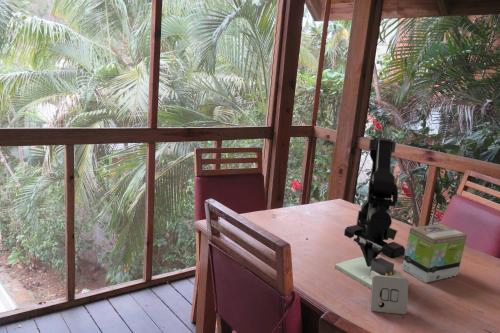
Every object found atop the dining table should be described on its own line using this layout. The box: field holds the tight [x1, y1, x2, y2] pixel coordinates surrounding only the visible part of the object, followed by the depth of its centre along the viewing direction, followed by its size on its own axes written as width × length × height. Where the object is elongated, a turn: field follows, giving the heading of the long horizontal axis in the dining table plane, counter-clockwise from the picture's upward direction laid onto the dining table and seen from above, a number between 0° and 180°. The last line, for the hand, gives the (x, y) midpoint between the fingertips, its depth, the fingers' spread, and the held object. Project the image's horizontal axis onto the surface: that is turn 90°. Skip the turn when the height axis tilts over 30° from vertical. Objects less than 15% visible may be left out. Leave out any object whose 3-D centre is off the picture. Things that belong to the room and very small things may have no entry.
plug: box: [370, 256, 395, 276], centre depth 121 cm, size 4×5×5 cm
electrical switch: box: [369, 275, 410, 315], centre depth 106 cm, size 9×5×9 cm, turn 86°
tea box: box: [401, 223, 468, 284], centre depth 128 cm, size 15×10×15 cm, turn 117°
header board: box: [334, 256, 404, 290], centre depth 124 cm, size 17×13×4 cm
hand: (368, 266), depth 124 cm, fingers closed
